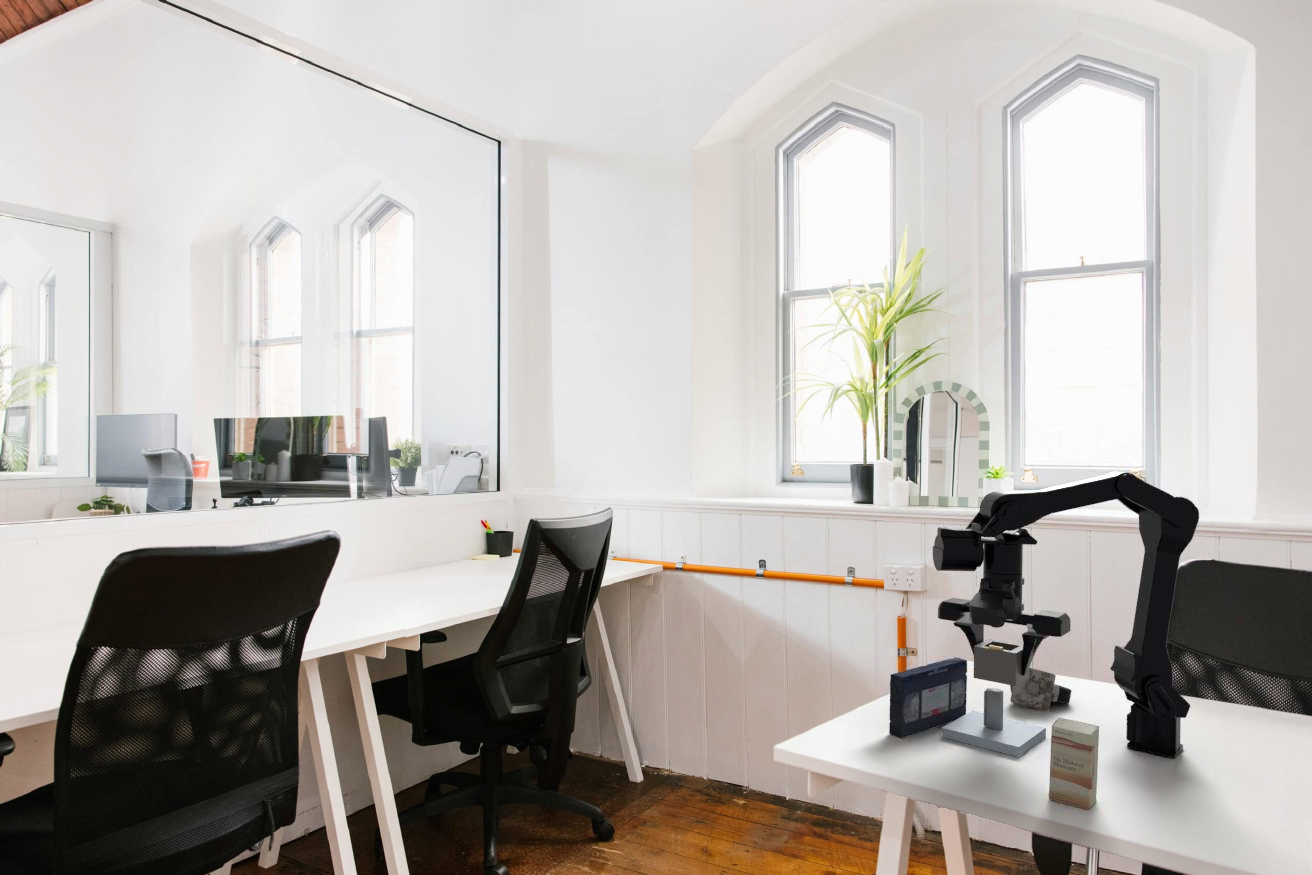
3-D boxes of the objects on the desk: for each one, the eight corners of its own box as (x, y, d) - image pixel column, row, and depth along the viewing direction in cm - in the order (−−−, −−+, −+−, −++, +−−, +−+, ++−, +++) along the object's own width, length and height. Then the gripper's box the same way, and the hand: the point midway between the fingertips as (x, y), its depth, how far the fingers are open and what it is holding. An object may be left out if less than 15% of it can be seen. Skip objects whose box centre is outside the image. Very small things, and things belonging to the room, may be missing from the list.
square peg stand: (1045, 736, 135) (1046, 690, 135) (1018, 756, 127) (1019, 707, 127) (972, 719, 144) (972, 675, 144) (942, 736, 135) (942, 690, 135)
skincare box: (1047, 800, 111) (1048, 724, 111) (1056, 789, 115) (1057, 716, 115) (1090, 811, 108) (1092, 733, 108) (1098, 800, 112) (1099, 725, 112)
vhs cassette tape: (901, 739, 134) (901, 677, 134) (886, 734, 136) (886, 672, 136) (969, 718, 144) (970, 660, 144) (954, 713, 147) (955, 656, 147)
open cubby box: (1029, 677, 133) (1029, 643, 133) (1015, 686, 128) (1016, 650, 128) (988, 669, 137) (988, 636, 137) (973, 677, 132) (974, 643, 132)
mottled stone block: (1058, 710, 157) (1077, 719, 147) (996, 693, 159) (1010, 701, 149) (1065, 674, 158) (1084, 681, 148) (1003, 658, 160) (1018, 664, 150)
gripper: (924, 571, 132) (923, 669, 132) (1050, 585, 120) (1049, 694, 120) (951, 563, 141) (950, 656, 141) (1072, 576, 128) (1070, 678, 128)
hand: (1001, 670), depth 132 cm, fingers closed on open cubby box, 6 cm apart
